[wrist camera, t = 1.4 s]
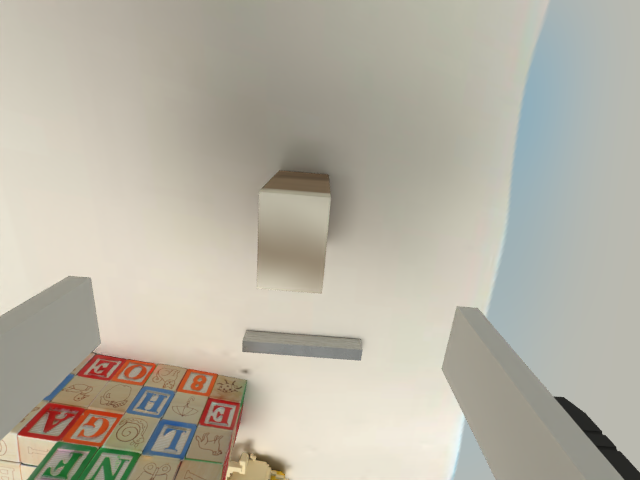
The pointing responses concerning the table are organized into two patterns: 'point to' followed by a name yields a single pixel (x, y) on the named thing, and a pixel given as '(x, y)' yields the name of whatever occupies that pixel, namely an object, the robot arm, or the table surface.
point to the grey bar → (302, 345)
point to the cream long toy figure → (252, 470)
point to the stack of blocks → (128, 425)
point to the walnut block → (293, 232)
